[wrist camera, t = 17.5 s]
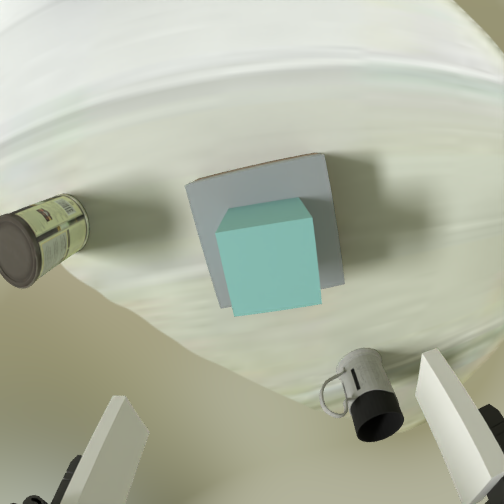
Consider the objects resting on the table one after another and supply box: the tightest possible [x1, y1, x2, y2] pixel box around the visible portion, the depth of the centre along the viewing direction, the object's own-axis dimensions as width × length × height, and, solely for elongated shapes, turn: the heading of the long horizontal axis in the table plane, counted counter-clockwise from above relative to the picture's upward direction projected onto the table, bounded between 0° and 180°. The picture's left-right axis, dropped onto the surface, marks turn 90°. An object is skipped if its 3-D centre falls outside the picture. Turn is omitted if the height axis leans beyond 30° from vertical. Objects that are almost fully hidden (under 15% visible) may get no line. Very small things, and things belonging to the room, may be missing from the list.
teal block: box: [215, 197, 322, 317], centre depth 31 cm, size 8×8×10 cm
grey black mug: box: [320, 348, 404, 442], centre depth 43 cm, size 9×14×15 cm, turn 70°
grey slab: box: [185, 154, 345, 308], centre depth 37 cm, size 16×16×4 cm
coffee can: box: [0, 194, 89, 288], centre depth 37 cm, size 10×10×14 cm
